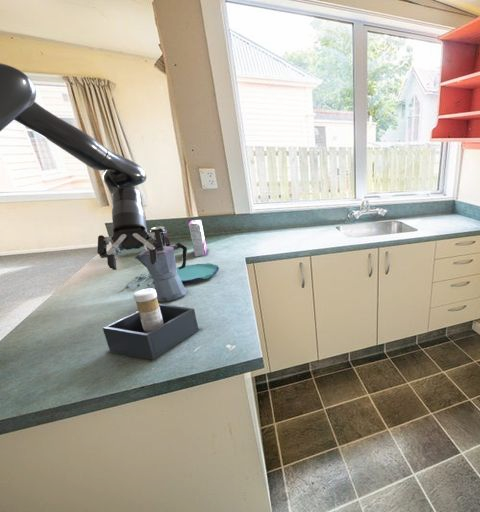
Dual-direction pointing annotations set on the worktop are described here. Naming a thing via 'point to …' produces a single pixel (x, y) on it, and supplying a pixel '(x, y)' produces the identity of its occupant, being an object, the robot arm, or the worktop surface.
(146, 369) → the worktop surface
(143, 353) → the open box
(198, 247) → the candy bar box
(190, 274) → the teal oval tray
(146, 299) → the sprinkles bottle
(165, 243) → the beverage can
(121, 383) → the worktop surface
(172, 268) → the moka pot
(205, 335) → the worktop surface
